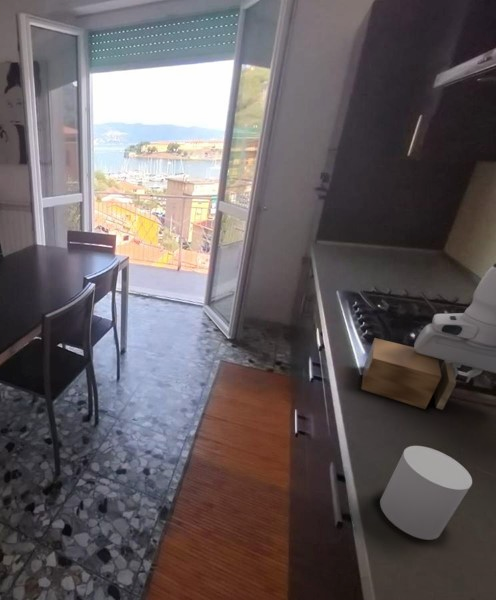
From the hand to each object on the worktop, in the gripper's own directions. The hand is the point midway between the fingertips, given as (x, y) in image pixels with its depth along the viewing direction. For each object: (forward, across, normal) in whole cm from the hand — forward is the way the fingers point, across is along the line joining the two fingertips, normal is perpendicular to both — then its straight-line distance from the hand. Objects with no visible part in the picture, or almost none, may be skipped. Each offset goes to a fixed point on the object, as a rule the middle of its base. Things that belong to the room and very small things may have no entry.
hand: (459, 379), depth 85 cm
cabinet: (+6, +11, +3) cm, 13 cm away
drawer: (+5, +7, +3) cm, 9 cm away
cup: (+6, +9, +44) cm, 45 cm away
